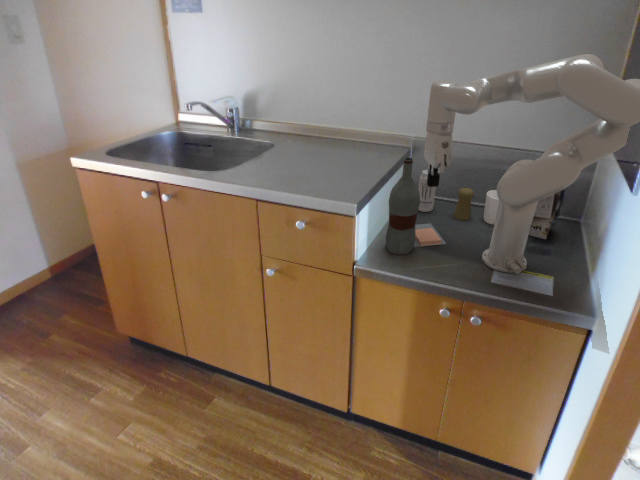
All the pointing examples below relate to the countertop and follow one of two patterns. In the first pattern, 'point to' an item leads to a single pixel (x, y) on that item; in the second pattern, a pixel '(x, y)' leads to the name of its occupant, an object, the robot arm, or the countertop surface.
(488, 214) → the white cup
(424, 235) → the tile
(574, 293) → the countertop surface
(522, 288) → the countertop surface
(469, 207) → the cork
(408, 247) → the bottle
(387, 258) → the countertop surface
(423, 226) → the mat
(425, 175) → the energy drink can
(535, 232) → the coffee box
